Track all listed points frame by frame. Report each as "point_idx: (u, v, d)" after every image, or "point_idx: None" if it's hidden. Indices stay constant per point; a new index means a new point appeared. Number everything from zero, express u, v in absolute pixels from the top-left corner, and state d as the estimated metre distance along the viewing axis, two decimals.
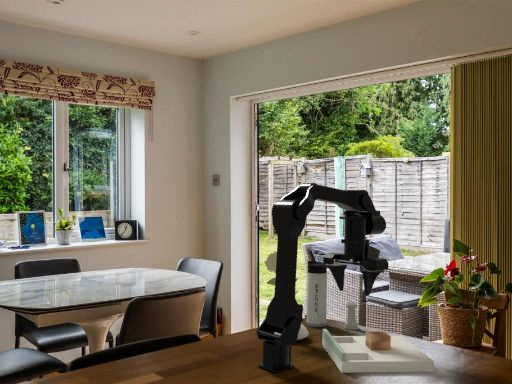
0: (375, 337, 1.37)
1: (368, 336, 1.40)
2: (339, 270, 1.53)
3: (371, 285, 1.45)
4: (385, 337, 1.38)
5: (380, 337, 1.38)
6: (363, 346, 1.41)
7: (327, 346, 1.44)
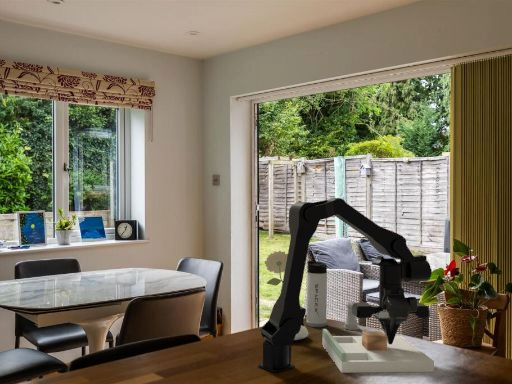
0: (371, 337, 1.37)
1: (364, 336, 1.40)
2: (391, 321, 1.41)
3: (386, 333, 1.40)
4: (381, 337, 1.38)
5: (376, 337, 1.38)
6: None
7: (327, 346, 1.44)
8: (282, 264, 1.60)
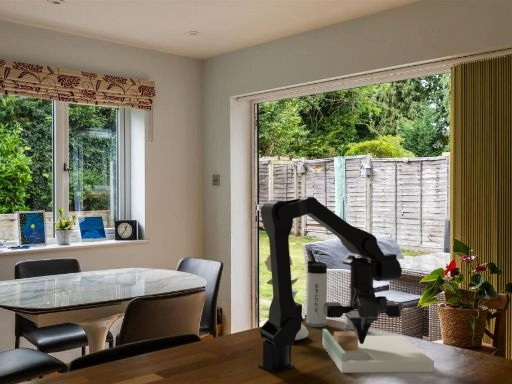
0: (342, 337, 1.37)
1: (336, 336, 1.39)
2: (363, 320, 1.40)
3: (357, 332, 1.39)
4: (352, 337, 1.37)
5: (347, 337, 1.37)
6: (363, 346, 1.41)
7: (327, 346, 1.44)
8: None
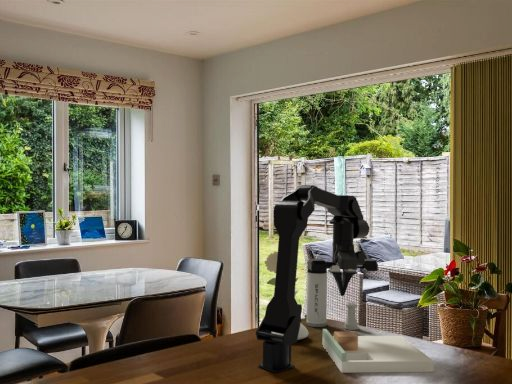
0: (342, 337, 1.37)
1: (336, 336, 1.39)
2: (344, 275, 1.55)
3: (338, 285, 1.54)
4: (352, 337, 1.37)
5: (347, 337, 1.37)
6: (363, 346, 1.41)
7: (327, 346, 1.44)
8: None
